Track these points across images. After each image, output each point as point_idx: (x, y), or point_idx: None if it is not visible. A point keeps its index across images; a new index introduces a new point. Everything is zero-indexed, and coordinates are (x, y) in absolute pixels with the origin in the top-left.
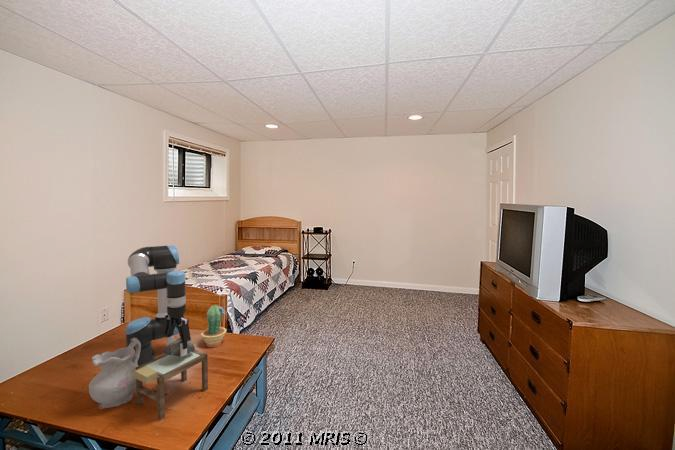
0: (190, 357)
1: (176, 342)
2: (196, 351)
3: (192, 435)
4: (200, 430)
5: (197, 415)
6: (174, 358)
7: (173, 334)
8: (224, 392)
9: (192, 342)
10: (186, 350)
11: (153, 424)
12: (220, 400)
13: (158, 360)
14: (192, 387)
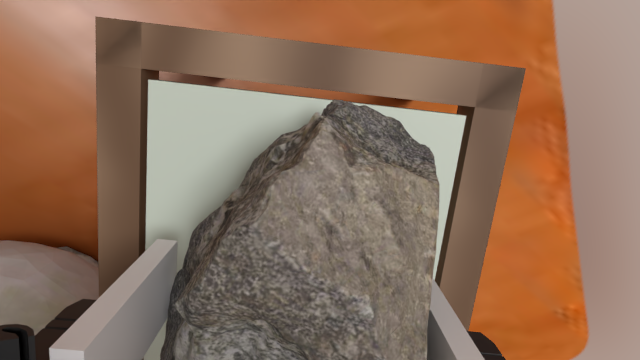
0: None
1: (255, 354)
2: (358, 68)
3: (567, 324)
4: (581, 296)
5: (508, 241)
6: None
7: (33, 345)
8: (525, 61)
9: (427, 184)
10: (437, 293)
11: None
12: (545, 123)
13: (160, 342)
14: (321, 97)
